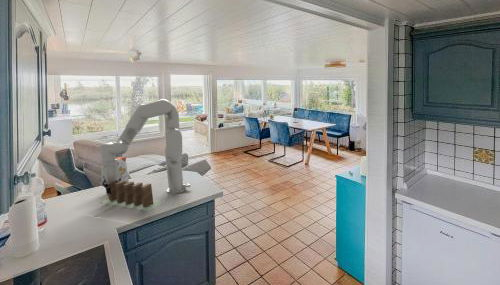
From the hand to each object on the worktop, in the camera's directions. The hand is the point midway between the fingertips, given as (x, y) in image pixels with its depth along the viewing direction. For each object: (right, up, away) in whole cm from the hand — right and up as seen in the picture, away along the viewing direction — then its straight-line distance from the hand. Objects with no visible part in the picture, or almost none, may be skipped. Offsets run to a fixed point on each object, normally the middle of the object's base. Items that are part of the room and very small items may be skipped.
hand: (113, 191), depth 170 cm
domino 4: (+18, -6, -6) cm, 20 cm away
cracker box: (-7, -2, +23) cm, 24 cm away
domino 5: (+24, -6, -9) cm, 27 cm away
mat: (+12, -6, -4) cm, 14 cm away
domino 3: (+12, -6, -4) cm, 14 cm away
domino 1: (0, -5, +1) cm, 5 cm away
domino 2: (+6, -6, -1) cm, 8 cm away
